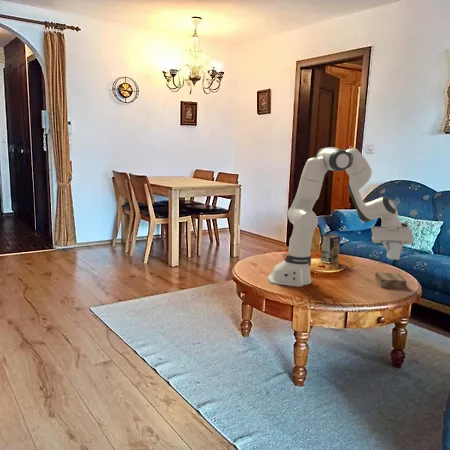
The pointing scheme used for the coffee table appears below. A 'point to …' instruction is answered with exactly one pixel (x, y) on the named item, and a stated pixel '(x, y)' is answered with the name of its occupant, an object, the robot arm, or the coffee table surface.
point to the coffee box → (330, 248)
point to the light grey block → (394, 250)
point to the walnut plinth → (390, 280)
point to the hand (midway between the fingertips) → (394, 250)
